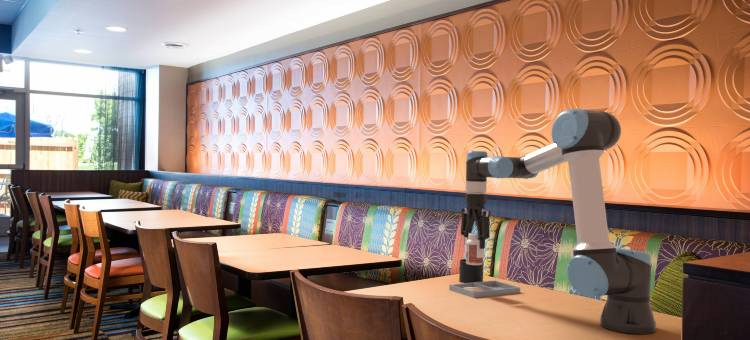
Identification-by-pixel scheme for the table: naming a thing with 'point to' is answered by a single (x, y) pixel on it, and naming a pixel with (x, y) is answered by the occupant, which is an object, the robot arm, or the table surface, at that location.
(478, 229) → the robot arm
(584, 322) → the table surface
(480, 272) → the mug
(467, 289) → the coaster
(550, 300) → the table surface
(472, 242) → the pill bottle
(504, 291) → the caddy
